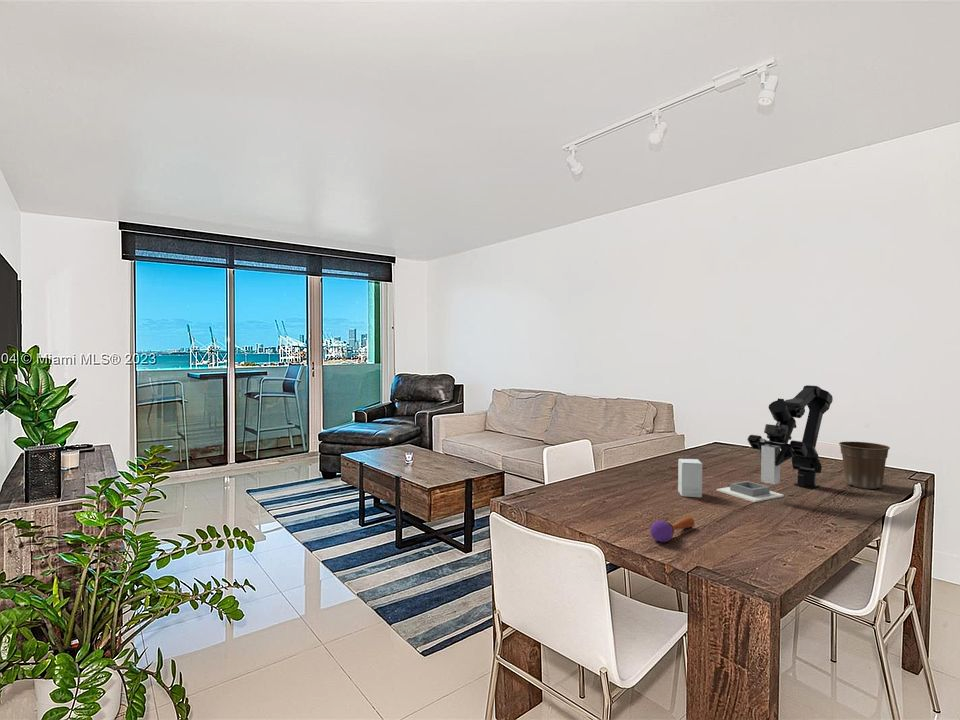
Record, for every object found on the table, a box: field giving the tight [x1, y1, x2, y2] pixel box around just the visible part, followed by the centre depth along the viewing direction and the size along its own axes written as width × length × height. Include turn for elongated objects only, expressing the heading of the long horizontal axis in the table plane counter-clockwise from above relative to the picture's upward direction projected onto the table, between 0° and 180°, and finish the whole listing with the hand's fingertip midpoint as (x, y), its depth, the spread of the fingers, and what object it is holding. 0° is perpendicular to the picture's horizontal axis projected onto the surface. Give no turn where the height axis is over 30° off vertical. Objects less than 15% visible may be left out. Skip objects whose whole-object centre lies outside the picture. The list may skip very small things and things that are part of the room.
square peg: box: [760, 444, 781, 485], centre depth 187 cm, size 4×4×13 cm
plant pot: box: [838, 441, 891, 490], centre depth 207 cm, size 16×16×16 cm
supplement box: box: [677, 458, 703, 498], centre depth 195 cm, size 7×7×13 cm
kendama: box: [650, 516, 695, 543], centre depth 155 cm, size 6×6×20 cm
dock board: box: [716, 480, 785, 503], centre depth 196 cm, size 16×16×4 cm
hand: (768, 464), depth 186 cm, fingers closed on square peg, 4 cm apart
